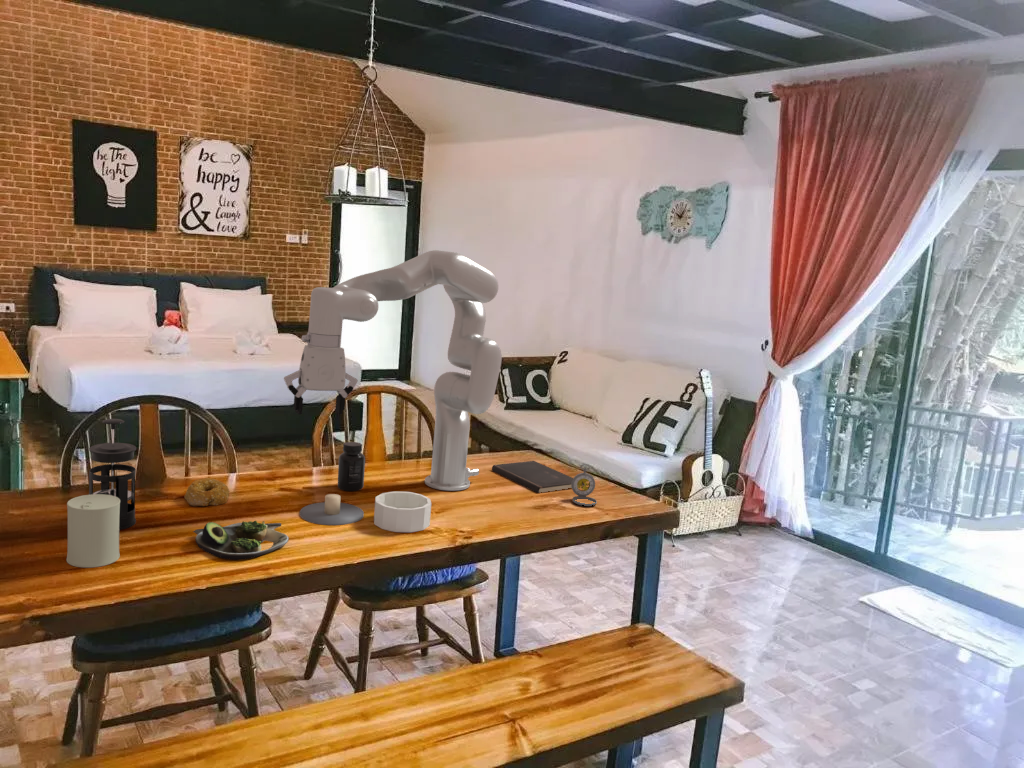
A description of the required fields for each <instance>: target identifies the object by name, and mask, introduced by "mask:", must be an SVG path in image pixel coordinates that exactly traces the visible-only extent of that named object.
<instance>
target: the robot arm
mask: <svg viewBox="0 0 1024 768" xmlns="http://www.w3.org/2000/svg"><path fill="white" fill-rule="evenodd" d="M439 285H442V286H443V289H444V291H445V292H446V294H447V296H448V297H449V298H450V300H451V303H452V305H453V308H454V320H453V326H452V329H451V334H450V337H449V344H448V350H447V359H448V362H449V363H450V364H451V365H453V367H456V368H459V369H463V370H466V371H470V374H469V375H468V374H465V373H462V372H458V371H446V372H444V373H442V374H441V375H439V376H438V378H436V381H435V382H434V383H435V384H434V389H433V391H434V393H433V395H434V403H435V404H434V405H435V423H434V425H435V426H434V433H433V434H434V435H433V446H432V457H431V471H430V475H427V476H426V477H425V478H424V484H425V485H426V486H427V487H430V488H432V489H434V490H435V489H436V490H440V491H449V492H451V491H452V492H454V491H463V490H466V489H468V488H469V487H471V481H470V480H469V478H471V477H475V476H479V475H480V470H479V469H478V468H472V469H470V468H469V467H467V462H468V461H467V459H468V458H467V457H468V449H469V437H470V428H471V427H470V425H471V424H470V423H471V422H470V417H469V413H471V414H474V415H481V414H483V413H485V412H486V411H488V410H489V409H490V407H491V405H492V403H493V401H494V397H495V394H496V388H497V385H498V381H499V380H498V379H499V376H500V371H501V368H502V367H501V366H502V350H501V347H500V345H499V344H498V343H497V341H495V340H493V339H491V338H488V337H484V334H485V333H484V332H485V327H486V322H487V319H486V318H487V315H486V309H485V307H484V304H487V303H489V302H492V301H493V300H494V299H495V298H496V296H497V294H498V292H499V281H498V279H497V277H496V275H495V274H494V273H493V272H492V271H490V270H489V269H488V268H485V267H484V266H482V265H481V264H479V263H477V262H475V261H474V260H472V259H471V258H469V257H467V256H465V255H463V254H461V253H458V252H454V251H445V250H436V249H435V250H428V251H426V252H424V253H421V254H419V255H417V256H415V257H413V258H410V259H409V260H405V261H404V262H401V263H400V264H399V263H398V264H397V265H395V266H392V267H388V268H384V269H383V268H382V269H380V270H377V271H373V272H368V273H364V274H361V275H358V276H354V277H352V278H350V279H347V280H344V281H343V282H341V283H339V284H336V285H335V286H333V287H324V286H323V287H321V286H318V287H315V288H313V289H312V291H311V294H310V308H309V319H308V321H309V322H308V331H307V333H306V334H303V335H302V334H301V335H302V336H301V341H302V342H305V343H306V345H304V347H303V349H302V355H301V359H300V363H299V368H298V370H296V371H294V372H292V373H290V374H287V375H285V376H284V377H283V381H284V382H285V385H286V387H287V390H288V391H289V392H291V393H292V394H293V397H294V398H293V410H294V412H295V413H296V414H298V415H302V414H303V406H304V397H302V396H303V394H304V393H305V392H307V391H317V392H319V391H320V392H321V391H322V392H323V391H325V392H327V391H328V392H331V391H332V392H337V394H338V395H336V398H335V399H336V400H335V412H336V413H337V414H338V415H343V411H345V407H346V406H345V404H346V399H347V397H348V396H349V395H350V394H351V392H352V391H354V388H355V387H356V385H357V383H358V379H357V378H355V377H354V376H352V375H351V374H350V373H349V374H348V373H347V372H346V354H345V348H343V347H341V346H342V345H341V344H342V332H343V321H344V320H348V321H355V322H358V323H362V322H363V323H364V322H368V321H370V320H372V319H373V318H374V317H375V316H376V315H377V313H378V311H379V302H391V301H393V302H395V301H401V300H406V299H410V298H411V297H414V296H416V295H418V294H420V293H422V292H424V291H426V290H428V289H430V288H432V287H434V286H439ZM296 379H297V383H298V385H297V387H295V385H294V384H293V381H294V380H296ZM346 380H347V381H349V382H348V384H347V385H346Z"/></svg>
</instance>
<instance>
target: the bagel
mask: <svg viewBox="0 0 1024 768" xmlns="http://www.w3.org/2000/svg"><path fill="white" fill-rule="evenodd" d="M185 492H186V493H185V494H184V499H185V500H186V501H187V504H188V505H189V506H192V507H208V506H218V505H222V504H226V503H227V501H228V500H229V496H230V490H229V486H228V485H227V484H226V483H225V482H223V481H220V480H218V479H215V478H210V477H204V478H198V479H195V480H194V481H192V482H191V484H190V485H188V487H187V489H186V491H185Z"/></svg>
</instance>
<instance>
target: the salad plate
mask: <svg viewBox="0 0 1024 768" xmlns="http://www.w3.org/2000/svg"><path fill="white" fill-rule="evenodd" d="M265 522H266V521H265V520H262V521H261V523H260V522H258V521H257V520H254V521H241V522H236V523H233V524H228V525H225V526H222V525H220V524H218V523H216V522H213V521H212V522H211V521H209V522H207V523H206V524H205V525H204V527H203V528H198V529H195V530H193V531H192V533H195V535H196V536H195V543H196V545H197V546H198V548H199V549H200V550H202V551H204V552H206V553H207V554H210V555H212V556H214V557H216V558H220V559H223V560H224V559H225V560H230V561H232V560H233V561H242V560H243V561H244V560H250V559H253V558H254V559H255V558H258V557H260V556H263V555H266V554H268V553H269V554H270V553H271V552H273V551H276V550H277V549H280V548H282V547H284V546H285V545H287V544H288V542H289V539H290V538H289V536H288V535H287V534H285V533H283V532H279V531H277V530H276V529H277V528H280V527H282V523H281V522H273V523H272V522H271V523H265ZM265 541H266V542H269V543H270V542H271V543H272V544H271V547H269V548H267V549H264V550H262V544H261V543H263V542H265Z"/></svg>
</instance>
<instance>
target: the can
mask: <svg viewBox="0 0 1024 768" xmlns="http://www.w3.org/2000/svg"><path fill="white" fill-rule="evenodd" d="M66 506H67V507H66V509H67V510H66V511H67V550H66V551H67V555H66V563H67V564H68V565H70V566H73V567H77V568H87V569H88V568H99V567H104V566H107V565H108V566H109V565H111V564H114V563H115V562H117V561H118V560H119V558H120V557H121V555H120V530H119V514H120V499H119V498H118V497H115V496H112V495H105V494H91V495H89V494H84V495H79V496H76V497H73V498H71V499H69V500H68V501H67V502H66Z"/></svg>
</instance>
